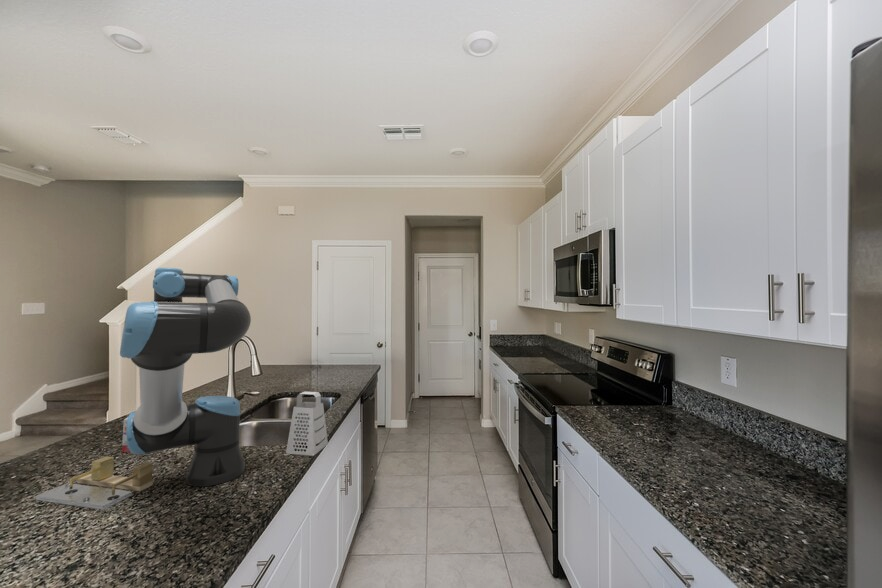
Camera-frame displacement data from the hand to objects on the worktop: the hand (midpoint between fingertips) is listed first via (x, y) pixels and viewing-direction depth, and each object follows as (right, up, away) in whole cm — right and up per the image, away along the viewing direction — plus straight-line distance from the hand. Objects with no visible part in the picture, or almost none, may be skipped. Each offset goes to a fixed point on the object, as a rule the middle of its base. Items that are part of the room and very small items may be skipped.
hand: (165, 388), depth 116 cm
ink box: (-18, -25, +13) cm, 33 cm away
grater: (+41, -26, +14) cm, 50 cm away
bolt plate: (-6, -24, -21) cm, 32 cm away
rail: (-5, -24, -16) cm, 29 cm away
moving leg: (-9, -22, -15) cm, 29 cm away
